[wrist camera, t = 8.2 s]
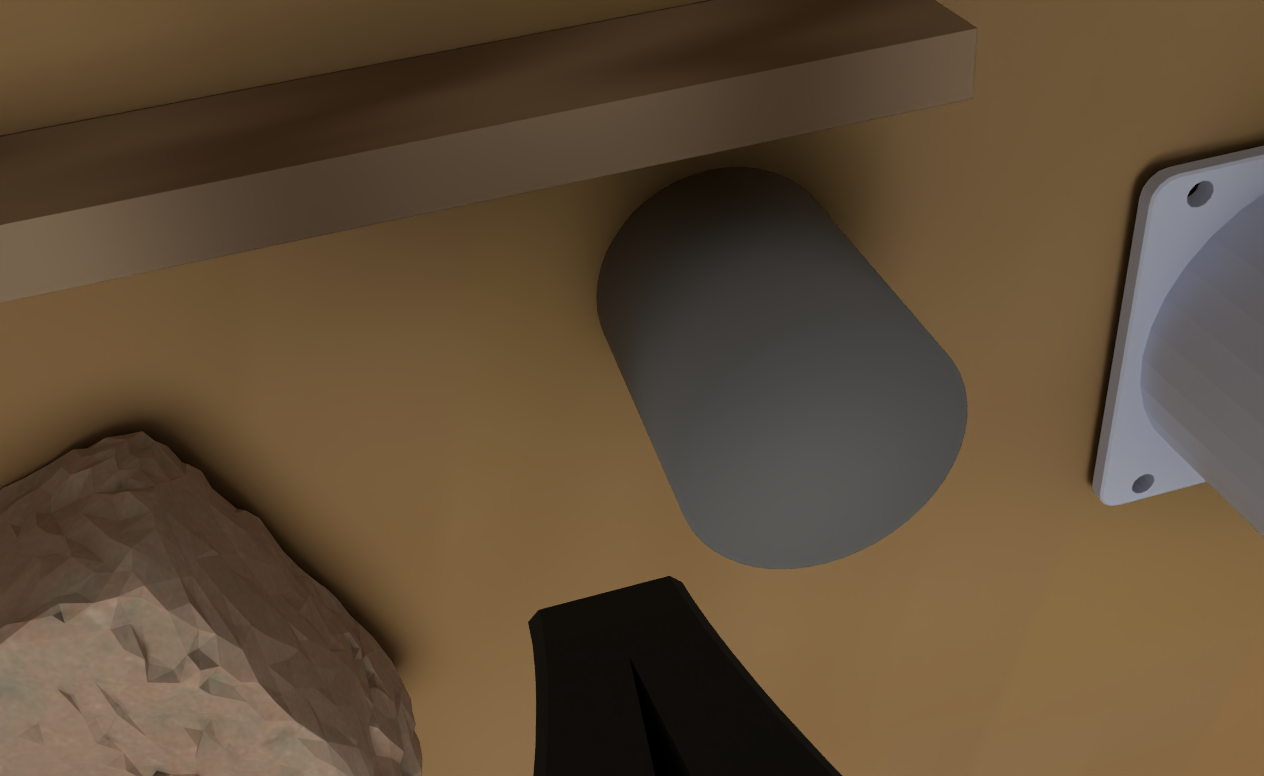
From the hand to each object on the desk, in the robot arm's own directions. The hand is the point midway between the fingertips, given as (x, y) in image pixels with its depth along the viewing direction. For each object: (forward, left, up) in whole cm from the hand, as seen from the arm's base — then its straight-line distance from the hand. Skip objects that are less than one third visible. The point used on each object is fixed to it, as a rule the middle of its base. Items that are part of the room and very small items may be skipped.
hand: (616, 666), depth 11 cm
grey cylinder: (-4, +2, -10) cm, 11 cm away
